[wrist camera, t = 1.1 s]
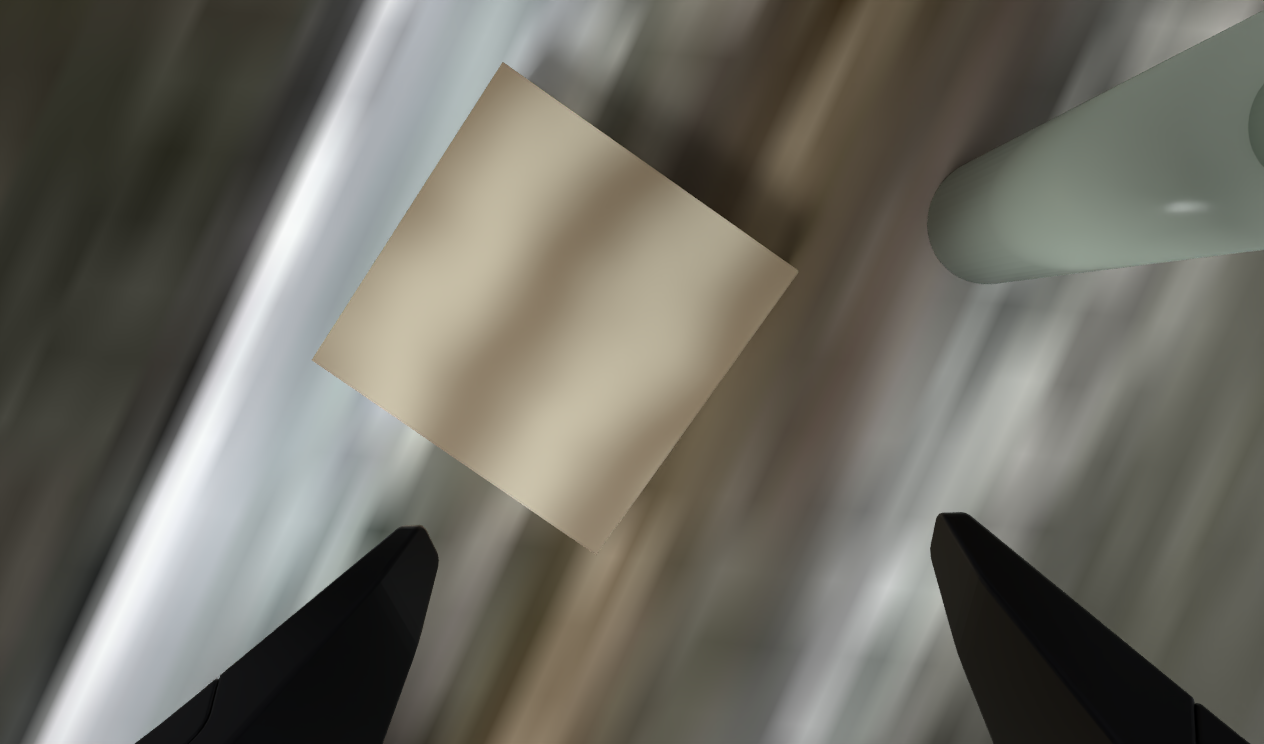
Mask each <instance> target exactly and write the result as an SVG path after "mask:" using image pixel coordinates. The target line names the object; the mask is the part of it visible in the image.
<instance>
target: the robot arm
mask: <svg viewBox="0 0 1264 744" xmlns="http://www.w3.org/2000/svg"><path fill="white" fill-rule="evenodd" d="M930 552H931V560H932V564H933V567H934V571H935V575H936V578H937V582H938V585H939V589H940V593H941V596H942V600H943V603H944V607H945V611H946V614H947V618H948V621H949V625H950V629H951V632H952V636H953V639H954V643H955V646H956V649H957V653H958V655H959V658H960V661H961V663H962V666H963V669H964V671H965V674H966V676H967V679H968V681H969V684H970V686H971V689H972V691H973V694H974V696H975V699H976V701H977V704H978V706H979V709H980V711H981V714H982V716H983V719H984V721H985V724H986V726H987V729H988V731H989V734H990V736H991V739H992V741H993V744H1250V743H1248V742H1247V741H1246V740H1245V739H1243V738H1242V737H1241V736H1240V735H1238V734H1237V733H1236V732H1235V731H1233V730H1232V729H1231V728H1230V727H1228V726H1227V725H1226V724H1225V723H1223V722H1222V721H1221V720H1220V719H1219V718H1217V717H1216V716H1215V715H1214V714H1212V713H1211V712H1210V711H1209V710H1208V709H1206V708H1205V707H1204V706H1203V705H1201V704H1199V703H1194V699H1193V698H1192V697H1191V696H1190V695H1189V694H1188V693H1187V692H1185V691H1184V690H1183V689H1182V688H1180V687H1179V686H1178V685H1177V684H1176V683H1174V682H1173V681H1172V680H1171V679H1169V678H1168V677H1167V676H1166V675H1165V674H1163V673H1162V672H1161V671H1160V670H1158V669H1157V668H1156V667H1155V666H1154V665H1152V664H1151V663H1150V662H1149V661H1147V660H1146V659H1145V658H1144V657H1143V656H1141V655H1140V654H1139V653H1138V652H1136V651H1135V650H1134V649H1133V648H1132V647H1130V646H1129V645H1128V644H1127V643H1125V642H1124V641H1123V640H1122V639H1121V638H1119V637H1118V636H1117V635H1116V634H1114V633H1113V632H1112V631H1111V630H1110V629H1108V628H1107V627H1106V626H1105V625H1103V624H1102V623H1101V622H1100V621H1099V620H1097V619H1096V618H1095V617H1094V616H1092V615H1091V614H1090V613H1089V612H1088V611H1086V610H1085V609H1084V608H1083V607H1081V606H1080V605H1079V604H1078V603H1077V602H1075V601H1074V600H1073V599H1072V598H1071V597H1069V596H1068V595H1067V594H1066V593H1064V592H1063V591H1062V590H1061V589H1060V588H1058V587H1057V586H1056V585H1055V584H1053V583H1052V582H1051V581H1050V580H1049V579H1047V578H1046V577H1045V576H1044V575H1042V574H1041V573H1040V572H1039V571H1038V570H1036V569H1035V568H1034V567H1033V566H1031V565H1030V564H1029V563H1028V562H1027V561H1025V560H1024V559H1023V558H1022V557H1020V556H1019V555H1018V554H1017V553H1016V552H1014V551H1013V550H1012V549H1011V548H1009V547H1008V546H1007V545H1006V544H1005V543H1003V542H1002V541H1001V540H1000V539H998V538H997V537H996V536H995V535H994V534H992V533H991V532H990V531H989V530H987V529H986V528H985V527H984V526H983V525H981V524H980V523H979V522H978V521H976V520H975V519H974V518H973V517H972V516H970V515H969V514H967V513H963V512H953V513H940V514H939V515H938V516H937V518H936V522H935V527H934V532H933V537H932V542H931V547H930ZM438 562H439V560H438V554H437V551H436V549H435V547H434V545H433V543H432V541H431V539H430V536H429V534H428V532H427V530H426V529H425V528H424V527H423V526H421V525H404V526H401V527H399V528H398V529H396V530H395V531H394V532H393V533H391V534H390V535H389V536H388V537H387V538H385V539H384V540H383V541H382V542H380V543H379V544H378V545H377V546H376V547H374V548H373V549H372V550H371V551H370V552H368V553H367V554H366V555H365V556H364V557H362V558H361V559H360V560H359V561H358V562H356V563H355V564H354V565H353V566H352V567H350V568H349V569H348V570H347V571H346V572H344V573H343V574H342V575H341V576H339V577H338V578H337V579H336V580H335V581H333V582H332V583H331V584H330V585H329V586H327V587H326V588H325V589H324V590H323V591H321V592H320V593H319V594H318V595H317V596H315V597H314V598H313V599H312V600H311V601H309V602H308V603H307V604H306V605H305V606H303V607H302V608H301V609H300V610H298V611H297V612H296V613H295V614H294V615H292V616H291V617H290V618H289V619H288V620H286V621H285V622H284V623H283V624H282V625H280V626H279V627H278V628H277V629H276V630H274V631H273V632H272V633H271V634H270V635H268V636H267V637H266V638H265V639H264V640H262V641H261V642H260V643H259V644H257V645H256V646H255V647H254V648H253V649H251V650H250V651H249V652H248V653H247V654H245V655H244V656H243V657H242V658H241V659H239V660H238V661H237V662H236V663H235V664H233V665H232V666H231V667H230V668H228V669H227V670H226V671H225V672H224V673H222V674H221V675H220V678H219V679H215V680H214V681H213V682H211V683H210V684H209V685H208V686H207V687H205V688H204V689H203V690H202V691H201V692H199V693H198V694H197V695H196V696H195V697H193V698H192V699H191V700H190V701H188V702H187V703H186V704H185V705H183V706H182V707H181V708H180V709H178V710H177V711H176V712H175V713H173V714H172V715H171V716H170V717H168V718H167V719H166V720H165V721H164V722H162V723H161V724H160V725H159V726H157V727H156V728H155V729H153V730H152V731H151V732H149V733H148V734H147V735H145V736H144V737H143V738H141V739H140V740H139V741H138V742H136V743H135V744H383V741H384V738H385V735H386V733H387V730H388V727H389V724H390V722H391V719H392V716H393V713H394V711H395V708H396V705H397V702H398V700H399V697H400V694H401V691H402V688H403V686H404V683H405V680H406V677H407V675H408V672H409V669H410V666H411V664H412V661H413V658H414V655H415V652H416V649H417V646H418V643H419V639H420V636H421V632H422V628H423V624H424V620H425V616H426V612H427V608H428V605H429V601H430V597H431V593H432V589H433V585H434V581H435V577H436V573H437V569H438Z"/></svg>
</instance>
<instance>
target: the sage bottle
mask: <svg viewBox="0 0 1264 744" xmlns="http://www.w3.org/2000/svg"><path fill="white" fill-rule="evenodd" d="M927 227H928V236H929V240H930V243H931V246H932V249H933V251H934V253H935V255H936V256H937V258H938V259H939V261H940V262H941V263H942V264H943V265H944V266H945V268H947V269H948V270H949V271H950V272H951V273H953V274H954V275H956V276H958V277H959V278H962V279H964V280H966V281H969V282H973V283H978V284H997V283H1005V282H1013V281H1021V280H1029V279H1037V278H1045V277H1052V276H1060V275H1068V274H1076V273H1084V272H1092V271H1100V270H1108V269H1116V268H1124V267H1131V266H1139V265H1147V264H1155V263H1163V262H1171V261H1179V260H1187V259H1195V258H1203V257H1211V256H1218V255H1226V254H1234V253H1242V252H1250V251H1258V250H1264V10H1263V11H1261V12H1259V13H1257V14H1255V15H1253V16H1251V17H1249V18H1248V19H1246V20H1244V21H1242V22H1240V23H1238V24H1236V25H1234V26H1232V27H1230V28H1228V29H1226V30H1224V31H1222V32H1220V33H1218V34H1216V35H1215V36H1213V37H1211V38H1209V39H1207V40H1205V41H1203V42H1201V43H1199V44H1197V45H1195V46H1193V47H1191V48H1189V49H1187V50H1185V51H1183V52H1182V53H1180V54H1178V55H1176V56H1174V57H1172V58H1170V59H1168V60H1166V61H1164V62H1162V63H1160V64H1158V65H1156V66H1154V67H1152V68H1150V69H1149V70H1147V71H1145V72H1143V73H1141V74H1139V75H1137V76H1135V77H1133V78H1131V79H1129V80H1127V81H1125V82H1123V83H1121V84H1119V85H1117V86H1116V87H1114V88H1112V89H1110V90H1108V91H1106V92H1104V93H1102V94H1100V95H1098V96H1096V97H1094V98H1092V99H1090V100H1088V101H1086V102H1085V103H1083V104H1081V105H1079V106H1077V107H1075V108H1073V109H1071V110H1069V111H1067V112H1065V113H1063V114H1061V115H1059V116H1057V117H1055V118H1053V119H1052V120H1050V121H1048V122H1046V123H1044V124H1042V125H1040V126H1038V127H1036V128H1034V129H1032V130H1030V131H1028V132H1026V133H1024V134H1022V135H1020V136H1019V137H1017V138H1015V139H1013V140H1011V141H1009V142H1007V143H1005V144H1003V145H1001V146H999V147H997V148H995V149H993V150H991V151H989V152H987V153H986V154H984V155H982V156H980V157H978V158H976V159H974V160H972V161H970V162H968V163H966V164H964V165H963V166H961V167H959V168H958V169H956V170H955V171H953V172H952V173H951V174H950V175H949V176H948V177H947V178H946V179H945V180H944V181H943V182H942V183H941V185H940V186H939V188H938V189H937V191H936V192H935V195H934V197H933V199H932V201H931V204H930V208H929V212H928V221H927Z"/></svg>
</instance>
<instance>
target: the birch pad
mask: <svg viewBox="0 0 1264 744" xmlns="http://www.w3.org/2000/svg"><path fill="white" fill-rule="evenodd" d="M798 272H799V271H798V270H797V269H795V268H794V267H793V266H791V265H790V264H788V263H787V262H785V261H784V260H783V259H781V258H780V257H778V256H777V255H775V254H774V253H773V252H771V251H770V250H768V249H767V248H766V247H764V246H763V245H761V244H760V243H758V242H757V241H756V240H754V239H753V238H751V237H750V236H749V235H747V234H746V233H744V232H743V231H741V230H740V229H739V228H737V227H736V226H734V225H733V224H732V223H730V222H729V221H727V220H726V219H724V218H723V217H722V216H720V215H719V214H717V213H716V212H715V211H713V210H712V209H710V208H709V207H707V206H706V205H705V204H703V203H702V202H700V201H699V200H698V199H696V198H695V197H693V196H692V195H690V194H689V193H688V192H686V191H685V190H683V189H682V188H681V187H679V186H678V185H676V184H675V183H673V182H672V181H671V180H669V179H668V178H666V177H665V176H664V175H662V174H661V173H659V172H658V171H656V170H655V169H654V168H652V167H651V166H649V165H648V164H647V163H645V162H644V161H642V160H641V159H639V158H638V157H637V156H635V155H634V154H632V153H631V152H630V151H628V150H627V149H625V148H624V147H622V146H621V145H620V144H618V143H617V142H615V141H614V140H613V139H611V138H610V137H608V136H607V135H605V134H604V133H603V132H601V131H600V130H598V129H597V128H596V127H594V126H593V125H591V124H590V123H588V122H587V121H586V120H584V119H583V118H581V117H580V116H579V115H577V114H576V113H574V112H573V111H571V110H570V109H569V108H567V107H566V106H564V105H563V104H562V103H560V102H559V101H557V100H556V99H554V98H553V97H552V96H550V95H549V94H547V93H546V92H545V91H543V90H542V89H540V88H539V87H537V86H536V85H535V84H533V83H532V82H530V81H529V80H528V79H526V78H525V77H523V76H522V75H520V74H519V73H518V72H516V71H515V70H513V69H512V68H511V67H509V66H508V65H506V64H505V63H502V64H501V66H500V67H499V69H498V70H497V72H496V73H495V75H494V77H493V78H492V80H491V81H490V83H489V84H488V86H487V87H486V89H485V91H484V92H483V94H482V95H481V97H480V98H479V100H478V102H477V103H476V105H475V106H474V108H473V109H472V111H471V112H470V114H469V116H468V117H467V119H466V120H465V122H464V123H463V125H462V126H461V128H460V130H459V131H458V133H457V134H456V136H455V137H454V139H453V141H452V142H451V144H450V145H449V147H448V148H447V150H446V151H445V153H444V155H443V156H442V158H441V159H440V161H439V162H438V164H437V165H436V167H435V169H434V170H433V172H432V173H431V175H430V176H429V178H428V180H427V181H426V183H425V184H424V186H423V187H422V189H421V190H420V192H419V194H418V195H417V197H416V198H415V200H414V201H413V203H412V204H411V206H410V208H409V209H408V211H407V212H406V214H405V215H404V217H403V218H402V220H401V222H400V223H399V225H398V226H397V228H396V229H395V231H394V233H393V234H392V236H391V237H390V239H389V240H388V242H387V243H386V245H385V247H384V248H383V250H382V251H381V253H380V254H379V256H378V257H377V259H376V261H375V262H374V264H373V265H372V267H371V268H370V270H369V272H368V273H367V275H366V276H365V278H364V279H363V281H362V282H361V284H360V286H359V287H358V289H357V290H356V292H355V293H354V295H353V296H352V298H351V300H350V301H349V303H348V304H347V306H346V307H345V309H344V311H343V312H342V314H341V315H340V317H339V318H338V320H337V321H336V323H335V325H334V326H333V328H332V329H331V331H330V332H329V334H328V335H327V337H326V339H325V340H324V342H323V343H322V345H321V346H320V348H319V350H318V351H317V353H316V354H315V356H314V357H313V359H312V361H314V362H315V363H317V364H318V365H320V366H321V367H323V368H324V369H326V370H327V371H328V372H330V373H331V374H333V375H334V376H336V377H337V378H339V379H340V380H342V381H343V382H344V383H346V384H347V385H349V386H350V387H352V388H353V389H355V390H356V391H358V392H359V393H361V394H362V395H363V396H365V397H366V398H368V399H369V400H371V401H372V402H374V403H375V404H377V405H378V406H380V407H381V408H382V409H384V410H385V411H387V412H388V413H390V414H391V415H393V416H394V417H396V418H397V419H398V420H400V421H401V422H403V423H404V424H406V425H407V426H409V427H410V428H412V429H413V430H415V431H416V432H417V433H419V434H420V435H422V436H423V437H425V438H426V439H428V440H429V441H431V442H432V443H434V444H435V445H436V446H438V447H439V448H441V449H442V450H444V451H445V452H447V453H448V454H450V455H451V456H453V457H454V458H455V459H457V460H458V461H460V462H461V463H463V464H464V465H466V466H467V467H469V468H470V469H471V470H473V471H474V472H476V473H477V474H479V475H480V476H482V477H483V478H485V479H486V480H488V481H489V482H490V483H492V484H493V485H495V486H496V487H498V488H499V489H501V490H502V491H504V492H505V493H507V494H508V495H509V496H511V497H512V498H514V499H515V500H517V501H518V502H520V503H521V504H523V505H524V506H525V507H527V508H528V509H530V510H531V511H533V512H534V513H536V514H537V515H539V516H540V517H542V518H543V519H544V520H546V521H547V522H549V523H550V524H552V525H553V526H555V527H556V528H558V529H559V530H561V531H562V532H563V533H565V534H566V535H568V536H569V537H571V538H572V539H574V540H575V541H577V542H578V543H580V544H581V545H582V546H584V547H585V548H587V549H588V550H590V551H591V552H593V553H594V554H596V555H597V553H598V552H599V550H600V549H601V548H602V546H603V545H604V543H605V542H606V541H607V539H608V538H609V536H610V535H611V534H612V532H613V531H614V529H615V528H616V527H617V525H618V524H619V522H620V521H621V520H622V518H623V517H624V515H625V514H626V513H627V511H628V510H629V508H630V507H631V506H632V504H633V503H634V501H635V500H636V499H637V497H638V496H639V494H640V493H641V492H642V490H643V489H644V487H645V486H646V485H647V483H648V482H649V480H650V479H651V478H652V476H653V475H654V473H655V472H656V471H657V469H658V468H659V466H660V465H661V464H662V462H663V461H664V459H665V458H666V457H667V455H668V454H669V452H670V451H671V450H672V448H673V447H674V445H675V444H676V443H677V441H678V440H679V438H680V437H681V436H682V434H683V433H684V431H685V430H686V429H687V427H688V426H689V424H690V423H691V422H692V420H693V419H694V417H695V416H696V415H697V413H698V412H699V410H700V409H701V408H702V406H703V405H704V403H705V402H706V401H707V399H708V398H709V396H710V395H711V394H712V392H713V391H714V389H715V388H716V387H717V385H718V384H719V382H720V381H721V380H722V378H723V377H724V375H725V374H726V373H727V371H728V370H729V368H730V367H731V366H732V364H733V363H734V361H735V360H736V359H737V357H738V356H739V354H740V353H741V352H742V350H743V349H744V347H745V346H746V345H747V343H748V342H749V340H750V339H751V338H752V336H753V335H754V333H755V332H756V331H757V329H758V328H759V326H760V325H761V324H762V322H763V321H764V319H765V318H766V317H767V315H768V314H769V312H770V311H771V310H772V308H773V307H774V305H775V304H776V303H777V301H778V300H779V298H780V297H781V296H782V294H783V293H784V291H785V290H786V289H787V287H788V286H789V284H790V283H791V282H792V280H793V279H794V277H795V276H796V275H797V273H798Z"/></svg>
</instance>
